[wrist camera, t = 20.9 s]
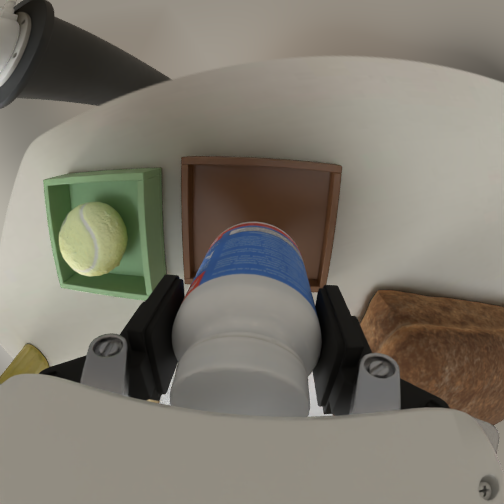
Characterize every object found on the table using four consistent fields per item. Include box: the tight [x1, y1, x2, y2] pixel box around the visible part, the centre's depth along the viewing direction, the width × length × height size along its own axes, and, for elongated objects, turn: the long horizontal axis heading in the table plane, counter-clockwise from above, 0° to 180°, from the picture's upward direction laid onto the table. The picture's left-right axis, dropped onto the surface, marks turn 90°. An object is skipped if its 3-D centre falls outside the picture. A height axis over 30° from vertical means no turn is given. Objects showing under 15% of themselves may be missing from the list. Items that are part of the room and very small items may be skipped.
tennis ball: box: [59, 202, 128, 277], centre depth 22 cm, size 6×7×7 cm
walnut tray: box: [181, 156, 342, 292], centre depth 24 cm, size 11×13×2 cm
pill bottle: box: [170, 222, 322, 417], centre depth 11 cm, size 6×5×10 cm
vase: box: [0, 344, 49, 384], centre depth 28 cm, size 6×6×14 cm
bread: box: [333, 290, 504, 425], centre depth 23 cm, size 17×30×13 cm, turn 80°
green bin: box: [43, 168, 166, 301], centre depth 23 cm, size 11×11×4 cm
